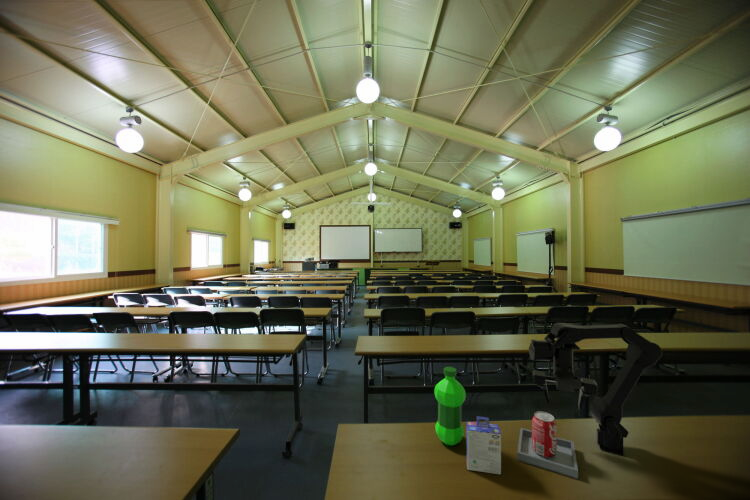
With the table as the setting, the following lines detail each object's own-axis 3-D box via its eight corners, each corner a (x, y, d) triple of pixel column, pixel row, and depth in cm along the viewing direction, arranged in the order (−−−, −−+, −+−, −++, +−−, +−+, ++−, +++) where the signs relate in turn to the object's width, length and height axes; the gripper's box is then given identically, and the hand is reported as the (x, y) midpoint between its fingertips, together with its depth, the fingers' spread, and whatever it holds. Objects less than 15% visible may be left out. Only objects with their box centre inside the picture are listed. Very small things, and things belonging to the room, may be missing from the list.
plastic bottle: (430, 444, 103) (430, 371, 103) (440, 428, 112) (441, 361, 112) (459, 454, 98) (460, 378, 98) (468, 437, 107) (468, 367, 107)
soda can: (555, 448, 101) (555, 413, 100) (557, 462, 94) (558, 424, 94) (531, 443, 104) (531, 408, 103) (532, 456, 97) (532, 418, 97)
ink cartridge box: (498, 462, 95) (498, 416, 95) (502, 475, 89) (502, 427, 89) (465, 458, 97) (466, 413, 97) (467, 470, 91) (467, 422, 91)
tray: (573, 449, 101) (573, 441, 101) (578, 479, 88) (578, 470, 88) (520, 434, 109) (520, 427, 109) (517, 460, 96) (517, 452, 96)
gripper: (532, 364, 101) (532, 411, 101) (601, 375, 92) (601, 425, 93) (532, 354, 111) (532, 396, 111) (594, 362, 102) (595, 408, 102)
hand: (563, 406), depth 104 cm, fingers open, 9 cm apart
